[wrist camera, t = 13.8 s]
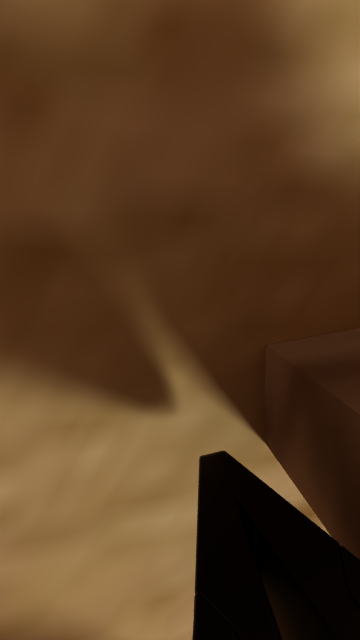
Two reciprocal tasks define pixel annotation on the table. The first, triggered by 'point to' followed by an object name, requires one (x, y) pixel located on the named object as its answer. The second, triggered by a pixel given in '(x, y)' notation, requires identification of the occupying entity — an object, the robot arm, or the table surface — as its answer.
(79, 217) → the table surface
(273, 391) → the walnut slat
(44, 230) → the table surface
